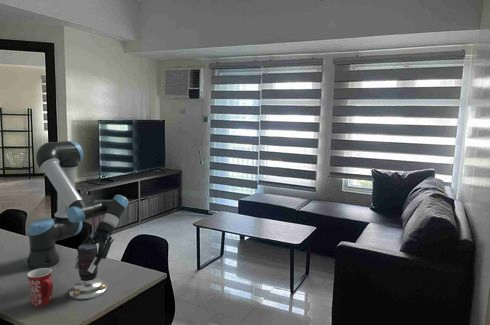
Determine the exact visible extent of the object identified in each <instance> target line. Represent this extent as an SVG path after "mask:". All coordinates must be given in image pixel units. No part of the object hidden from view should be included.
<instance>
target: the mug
mask: <svg viewBox="0 0 490 325" xmlns="http://www.w3.org/2000/svg"><path fill="white" fill-rule="evenodd" d="M52 272H53V270H52V269H51V268H50V267H48V268H40V269H32V270H31V271H29V272H28V273H27V279H28V285H29V294H30V300H31V306H33V307H43V306H46V305H48V304H50V302H51V301H52V293H53V288H54V285H53V282H52Z"/></svg>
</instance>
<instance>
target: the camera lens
mask: <svg viewBox="0 0 490 325" xmlns="http://www.w3.org/2000/svg"><path fill="white" fill-rule="evenodd" d="M77 249H78V251H77V257H78V260H79V261H78V266H79V268H78V274H79V277H80V280H82V281H90V280H93V279H95V278H97V275H98V271H99V268H98V266H99V264H98V265H97V266H96V267H95V269H94V271H93V273H90V272H89V271H88V269H89V267H90V265H91V263H92V262H93V260H94V258H95V257H97V254H98V246H97V244H96V245H95V244H83V245H81V244H80V245H79V246H78V247H77Z"/></svg>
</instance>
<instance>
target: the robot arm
mask: <svg viewBox="0 0 490 325" xmlns="http://www.w3.org/2000/svg"><path fill="white" fill-rule="evenodd" d="M83 159H84V151H83V148H82V146H81V145H80V144H79V143H78V142H77V141H72V140H63V141H62V140H61V141H54V142H53V141H49V142H46V143H44V144H42V145H40V146H39V147H38V149H37V151H36V153H35V162H36V165H37V167H38V168H39V170H40V171H41V172H42V173H44V174H45V175H46V177H47V178H48V179H49V181H50V183H51V184H52V186H53V188H54V189H55V190H56V192H57V211H56V212H54V219H53V218H52V217H44V218H39V219H36V220H34V221H32V222H31V223H30V224H29V225H28V239H29V242H28V243H29V253H28V257H27V260H26V267H27V268H28V269H30V270H36V269H40V268H51V267H54V266H56V265H58V264H59V263H60V255H59V254H58V251H57V249H56V242H57V241H61V240H65V239H67V238H70V237H71V238H72V237H73V236H76V235H78V234H80V232H81V230H82V228H83V221H84V222H85V221H87V220H90V219H94V218H98V217H102V218H101V220H100V221H99V224H98V225H97V226H96V230H95V232H93V233H92V232H88V233H87V236H86V237H85V239H84V240H83V242H82V243H81V244H80V245H83V244H95V245H97V244H98V247H97V257H95V258H94V260H93V262H92V263H91V265H90V267H89V269H88V271H89V272H90V273H93V271H94V269H95V267H96V266H97V265H98V266H99V264H100V262H101V260H102V259H104V260H105V259H107V257H108V253H109V251H110V249H111V245H112V244H113V242H114V240H115V239H114V238H113V237H112V234H113V232H114V231H115V228H116V226H117V225H118V223H119V222H120V219H121V218H122V216H123V214H124V213H125V210H126V209H127V207H128V205H129V199H128V198H127V197H126V196H123V195H121V194H116V195H114V197H113V198H112V199H96V200H94V201H93V202H89V203H86V202H85V201H84V199H83V198H82V196H81V194H80V193H79V192H78V191H77V189H76V169H78V167H79V163H80V162H82V161H83ZM76 251H77V252H78V248H77V249H76ZM78 261H79V260H78V256H77V257H76V259H75V262H74V264H73V265H72V268H73V269H75V270H79V266H78Z"/></svg>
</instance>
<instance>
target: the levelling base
mask: <svg viewBox="0 0 490 325" xmlns="http://www.w3.org/2000/svg"><path fill="white" fill-rule="evenodd" d="M107 291H108V283H107V282H106V281H104V279H102V278H101V277H96V278H95V279H93V280H90V281H82V280H81V279H79V280H78V281H76V282H75V283H74V284H73V286H71V287H70V288H69V290H68V294H69V297H70V298H71V299H74V300H76V301H77V300H79V301H87V300H90V299H91V300H92V299H95V298H98V297H101V296H102V295H104V294H105V293H106V292H107Z"/></svg>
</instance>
